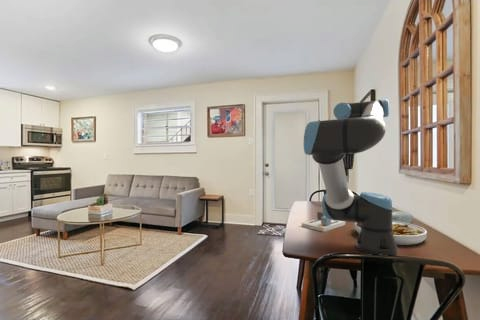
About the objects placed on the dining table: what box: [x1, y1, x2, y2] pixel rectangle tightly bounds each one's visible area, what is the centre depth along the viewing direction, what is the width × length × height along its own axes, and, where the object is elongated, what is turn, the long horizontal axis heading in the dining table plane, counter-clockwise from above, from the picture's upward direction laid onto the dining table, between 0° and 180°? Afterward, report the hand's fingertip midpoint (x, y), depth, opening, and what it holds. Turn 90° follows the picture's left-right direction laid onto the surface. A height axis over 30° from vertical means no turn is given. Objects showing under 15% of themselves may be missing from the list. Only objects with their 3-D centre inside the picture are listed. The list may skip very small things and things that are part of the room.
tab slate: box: [321, 216, 331, 226], centre depth 139 cm, size 4×4×4 cm
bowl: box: [354, 221, 428, 246], centre depth 125 cm, size 30×30×8 cm
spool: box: [392, 210, 414, 224], centre depth 143 cm, size 14×10×10 cm
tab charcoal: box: [316, 210, 325, 219], centre depth 152 cm, size 4×4×4 cm
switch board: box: [301, 218, 347, 233], centre depth 146 cm, size 22×14×2 cm, turn 129°
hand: (347, 182), depth 127 cm, fingers closed
